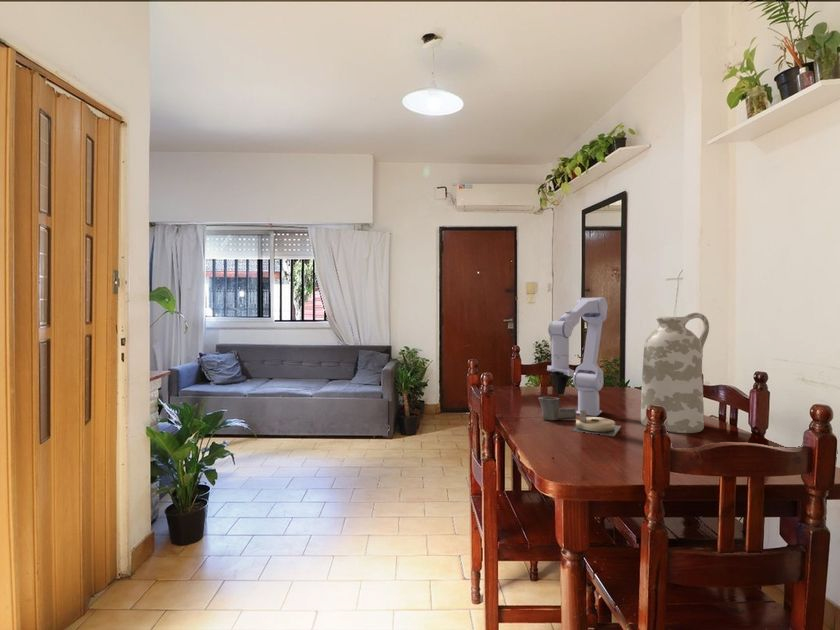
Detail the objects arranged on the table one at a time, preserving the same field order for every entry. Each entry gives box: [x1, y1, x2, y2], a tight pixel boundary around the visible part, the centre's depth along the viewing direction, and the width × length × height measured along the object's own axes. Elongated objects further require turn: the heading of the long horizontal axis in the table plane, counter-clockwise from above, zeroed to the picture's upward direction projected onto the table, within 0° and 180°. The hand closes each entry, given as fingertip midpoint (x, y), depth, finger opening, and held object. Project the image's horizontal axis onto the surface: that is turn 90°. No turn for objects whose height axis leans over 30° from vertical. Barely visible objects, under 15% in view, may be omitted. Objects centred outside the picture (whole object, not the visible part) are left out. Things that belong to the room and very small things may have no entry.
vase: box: [640, 312, 710, 434], centre depth 156 cm, size 20×19×38 cm
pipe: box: [538, 396, 577, 422], centre depth 167 cm, size 6×13×8 cm, turn 87°
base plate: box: [570, 424, 622, 437], centre depth 154 cm, size 14×13×1 cm
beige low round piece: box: [575, 410, 616, 432], centre depth 154 cm, size 12×12×6 cm
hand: (560, 394), depth 162 cm, fingers closed
